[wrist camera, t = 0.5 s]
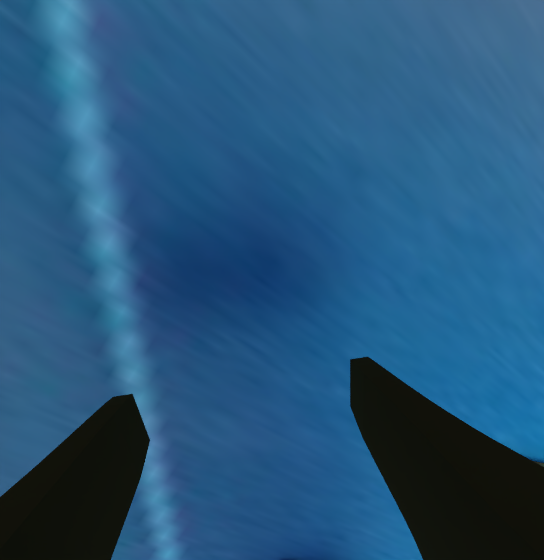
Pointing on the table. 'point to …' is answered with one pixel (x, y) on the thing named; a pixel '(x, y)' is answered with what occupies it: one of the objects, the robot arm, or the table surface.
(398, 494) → the robot arm
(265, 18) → the table surface
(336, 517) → the table surface
